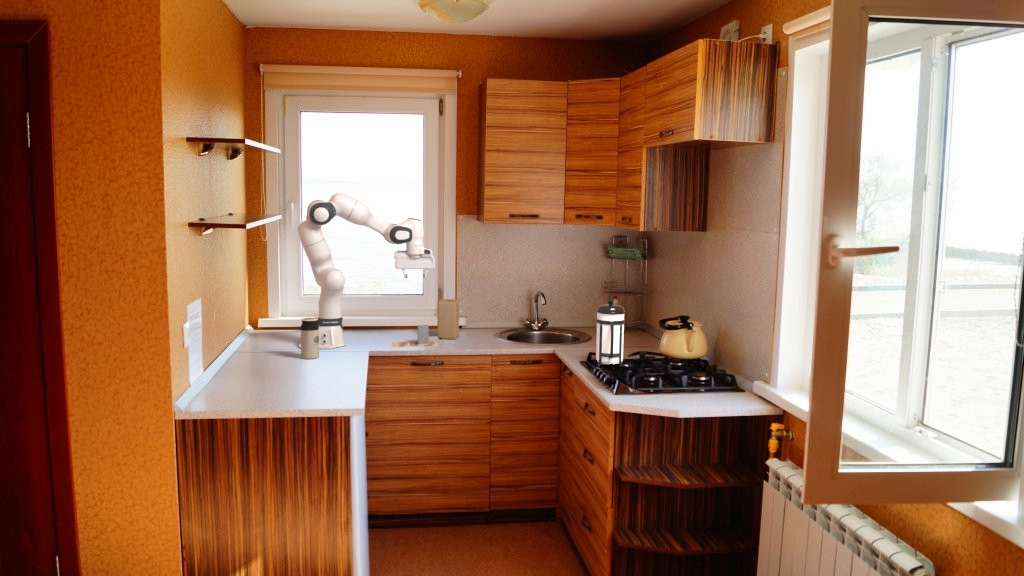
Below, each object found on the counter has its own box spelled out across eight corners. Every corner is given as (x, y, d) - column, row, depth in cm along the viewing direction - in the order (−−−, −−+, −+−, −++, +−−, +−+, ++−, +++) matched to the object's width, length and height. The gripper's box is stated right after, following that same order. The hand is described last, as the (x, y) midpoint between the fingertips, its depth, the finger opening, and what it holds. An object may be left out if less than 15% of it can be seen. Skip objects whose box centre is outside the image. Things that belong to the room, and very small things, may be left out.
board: (393, 349, 370) (392, 346, 369) (392, 345, 381) (392, 342, 381) (438, 348, 374) (438, 345, 374) (436, 344, 386) (436, 341, 385)
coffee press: (583, 364, 342) (585, 298, 338) (609, 360, 351) (611, 295, 348) (611, 371, 328) (613, 302, 325) (637, 367, 338) (639, 300, 334)
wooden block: (459, 336, 408) (459, 299, 406) (455, 339, 398) (456, 301, 396) (440, 335, 409) (440, 298, 407) (437, 339, 399) (437, 301, 397)
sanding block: (418, 344, 375) (418, 326, 374) (417, 342, 380) (417, 325, 379) (428, 344, 376) (428, 326, 375) (427, 342, 381) (427, 324, 380)
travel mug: (297, 357, 349) (296, 319, 347) (311, 355, 355) (310, 316, 353) (309, 360, 344) (308, 320, 342) (322, 357, 351) (322, 318, 349)
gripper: (394, 251, 380) (394, 278, 382) (435, 250, 384) (435, 278, 385) (394, 250, 386) (394, 277, 388) (434, 250, 390) (434, 277, 392)
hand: (415, 277), depth 387 cm, fingers open, 8 cm apart
